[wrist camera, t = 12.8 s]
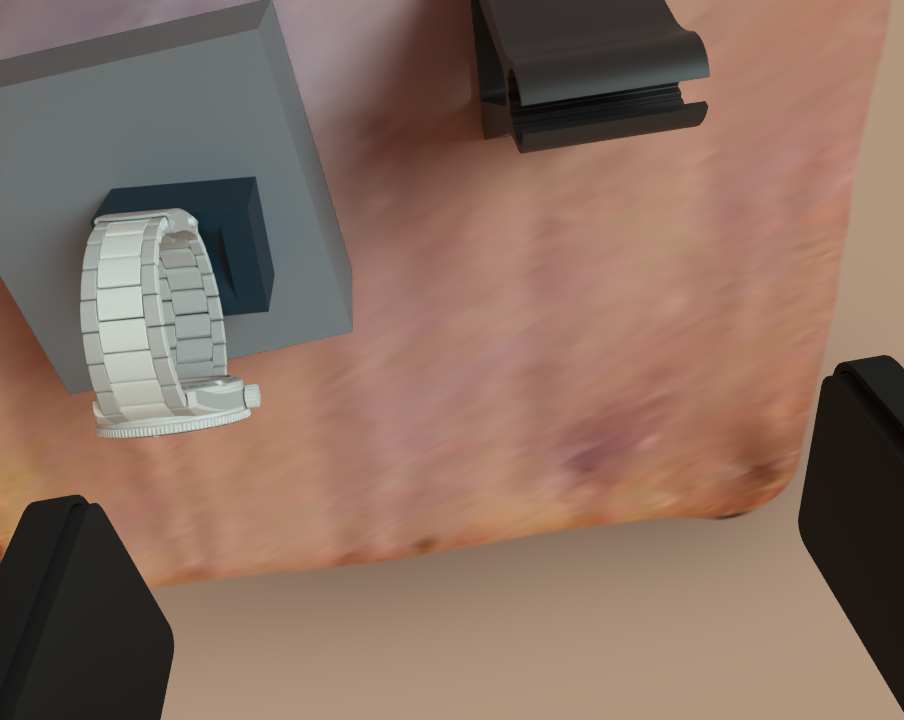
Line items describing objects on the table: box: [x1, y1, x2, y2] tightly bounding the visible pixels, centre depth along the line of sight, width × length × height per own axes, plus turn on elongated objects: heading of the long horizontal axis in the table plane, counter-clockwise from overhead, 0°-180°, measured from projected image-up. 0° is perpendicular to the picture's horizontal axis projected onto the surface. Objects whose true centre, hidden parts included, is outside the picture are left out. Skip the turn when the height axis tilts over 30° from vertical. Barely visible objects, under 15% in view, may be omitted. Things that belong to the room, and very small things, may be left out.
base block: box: [0, 0, 353, 395], centre depth 35 cm, size 13×13×6 cm
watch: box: [80, 176, 275, 438], centre depth 28 cm, size 6×8×11 cm
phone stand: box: [470, 0, 710, 153], centre depth 30 cm, size 9×6×12 cm, turn 7°
